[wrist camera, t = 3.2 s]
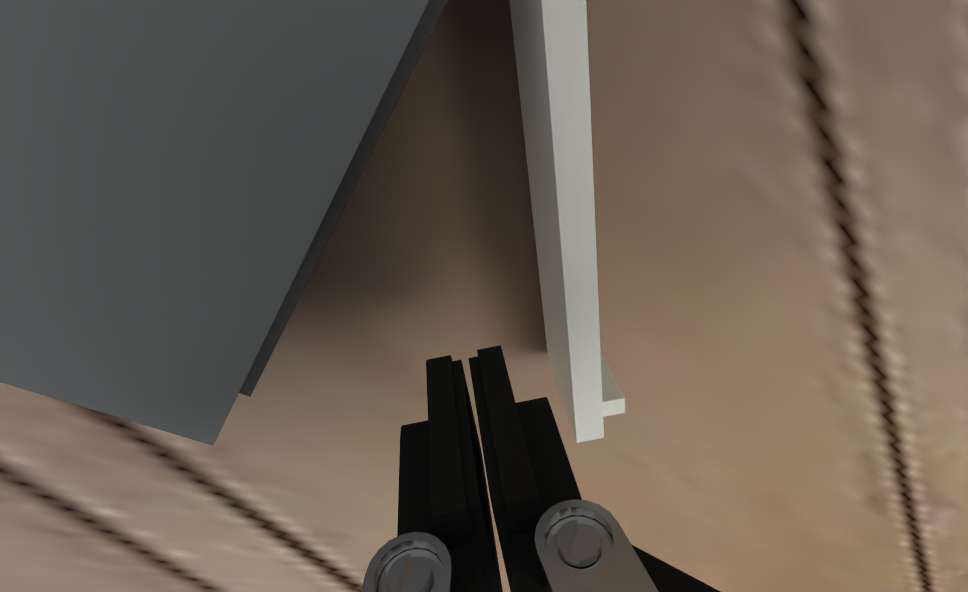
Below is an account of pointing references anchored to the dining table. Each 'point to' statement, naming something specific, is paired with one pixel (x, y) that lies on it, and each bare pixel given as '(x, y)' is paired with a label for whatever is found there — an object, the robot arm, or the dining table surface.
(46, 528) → the dining table surface
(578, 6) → the light grey flat bar
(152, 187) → the gray button box
